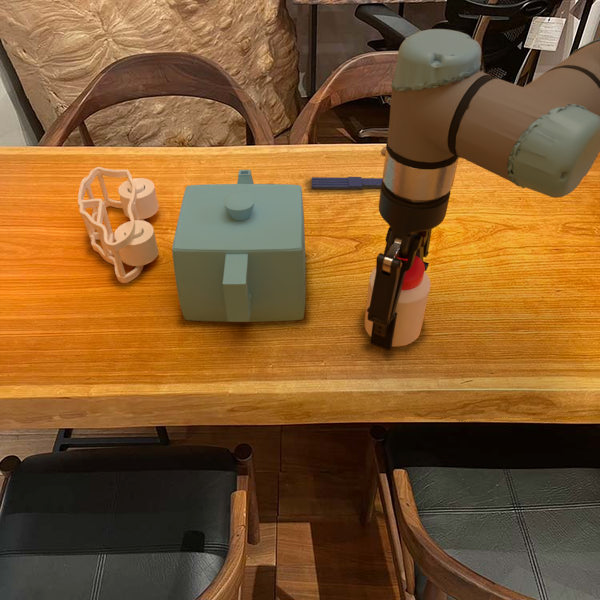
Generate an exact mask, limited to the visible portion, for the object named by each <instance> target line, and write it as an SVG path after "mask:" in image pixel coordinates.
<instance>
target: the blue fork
mask: <svg viewBox="0 0 600 600" xmlns="http://www.w3.org/2000/svg"><path fill="white" fill-rule="evenodd" d="M382 181H383V177H377V178H376V177H362V176H347V177H330V176H329V177H322V176H321V177H319V176H317V177H314V176H311V182H310V183H311V184H310V185H311V190H356V191H357V190H359V191H360V190H363V189H381V183H382Z"/></svg>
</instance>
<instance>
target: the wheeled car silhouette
mask: <svg viewBox="0 0 600 600" xmlns="http://www.w3.org/2000/svg"><path fill="white" fill-rule="evenodd" d="M104 177H108V178H115V179H121V178H122V179H123V178H127V180H125V181H123V182H122V183H121V184H120V185H119V187H118V189H117V192H118V195H119V200H117V199H116V200H115V199H112V198H110V197H109V192H108V190H107V186H106V183H105V180H104V179H105V178H104ZM95 178H97V180H98V183H99V186H100V191H101V194H102V197H103V199H102V198H95V197H94V194H93V193H94V192H93V189H92V187H91V184H92V183H94V181H95ZM85 194H87V197H88V199H85ZM77 206H78V208H79V210H78V211H79V214H80V217H81V218H82V220H83V222H84V225H85V229H86V231H87V235H88V237H89V239H90V244H91V247H92V249H93V251H95V252H97V253H98V254H99V255H100V256H101V258H102V259H103V260H104V261H105V262H107V263H108V264H111V265H113V266H114V273H115V276H116V279H117V281H118V282H119V283H120V284H128V283H130V282H131V281H133V280H134V279H136V278H137V277H138V276H139V275H140V274H141V273H142V271H143V269H144V266H145V265H147V264H149V263H152V262H153V261H154V260H155V259H157V257H158V255H159V252H160V251H159V247H158V243H157V238H156V234H155V229H154V226H153V224H151V223H150V222H149V221H146V219H148V218H151V217H153V216H154V215H156V214H157V212H159V208H160V205H159V201H158V196H157V192H156V186H155V183H154V181H152V180H150V179H149V178H145V177H135V178H133V177H132V174H131V172H130V170H129V169H113V168H105V167H102V166H96V167H94V168H92V169H91V170H90V171H89V173H88V175H87V176H85V177H83V178H82V179H81V182H80V185H79V190H78V194H77ZM109 207H113V208H115V209H121V210H122V211H123V214H124V215H125V216H126V218H129V220H130V221H126V222H124V223H122V224H120V225H119V226H118V227H117V228H116V229H115V231H114V232H113V229H112V225H111V221H110V219H109V215H108V211H107V208H109ZM90 208H91V210H92V214H91V215H90V214H89V212H87V209H90ZM103 223H104V224H103ZM97 241H100V244H101V246H100V245H99V244H98V243H97ZM123 263H124V264H125V265H127V266H131V267H134V269H132V270H131V271H129V272H127V273H126V270H125V268H124V264H123Z"/></svg>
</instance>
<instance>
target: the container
mask: <svg viewBox="0 0 600 600" xmlns="http://www.w3.org/2000/svg"><path fill="white" fill-rule="evenodd" d="M302 189H303V188H302V185H300V184H287V183H284V184H283V183H254V179H253V175H252V170H251V169H239V170H238V174H237V183H213V184H209V183H207V184H190V185H186V186H185V188H184V193H183V197H182V202H181V206H180V210H179V214H178V219H177V223H176V228H175V232H174V237H173V242H172V247H171V252H172V263H173V270H174V278H175V285H176V290H177V296H178V303H179V306H180V310H181V313H182V315H183V318H184V320H185V321H190V322H191V321H192V322H216V323H217V322H220V323H221V322H222V323H224V322H225V323H257V322H258V323H259V322H260V323H263V322H292V321H302V320H304V317H305V311H306V289H307V287H306V285H307V283H306V280H307V279H306V275H307V273H306V269H307V268H306V237H305V235H306V233H305V213H304V201H303V200H304V199H303V190H302Z"/></svg>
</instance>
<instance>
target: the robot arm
mask: <svg viewBox="0 0 600 600" xmlns="http://www.w3.org/2000/svg"><path fill="white" fill-rule="evenodd" d="M481 59H482V48H481V45H480V44H479V42H478V41H477V40H476V39H472V37H471V36H470V35H469V34H467V33H464V32H461V31H458V30H453V29H448V28H447V29H445V28H431V29H425V30H420V31H417V32H415V33H414V34H412V35H409V36H408V37H406V38H405V39H404V40H403V41H402V43H401V44H400V46H399V48H398V51H397V58H396V64H395V68H394V69H395V70H394V75H393V80H392V81H391V83H390V88H391V96H390V106H389V107H390V110H389V122H388V133H387V138H386V145H385V146H382V149H381V150H380V155H381V156H382V157H384V163H383V170H382V178H383V181H382V183H381V188H380V192H379V199H378V211H379V214H380V216H381V218H382V219H383V220H384V222H385V223H386V224H387V225H388V226H389V227H388V230H387V231H386V235H385V243H386V244H385V248H384V252H383V253H382V252H380V253H378V255H377V257H376V262H375V263H376V265H375V266H376V275H375V280H374V286H373V291H372V296H371V302H370V307H369V308H368V309H367V312H368V316H367V317H368V318H367V320H369V321H372V322H373V326H372V334H371V337H370V341H369V342H370V345H373V346H375V347H379V348H382V349H384V350H387V351H391V349H392V347H393V346H392V340H393V335H394V329H395V323H396V318H397V313H395V310H396V307H397V303H398V300H399V296H400V293H401V289H402V286H403V282H404V279H405V275H406V272H407V271H408V270H409V269H410V268H411V267H412V266H413V262H414V259H415V255H416V256H417V257H419V258H420V259H421V260H422V261H423V263H424V266H425V272H426V271H427V270H428V268H429V264H430V263H429V262H427V261H424V258H427V256H429V249H430V243H431V237H432V230H433V229H434V228H436V227H438V226H439V225H440V224H442V222H444V220H445V218H446V216H447V211H448V205H449V202H450V198H451V190H452V188H453V186H454V182H455V177H456V172H457V167H458V163H459V159H463V160H466V161H468V162H470V163H472V164H473V165H476V166H478V167H480V168H482V169H483V170H486V171H488V172H490V173H492V174H494V175H496V176H498V177H500V178H503V179H504V180H506V181H508V182H510V183H512V184H514V185H515V186H516V187H519V188H521V189H529V190H531V191H534V192H537V193H539V194H542V195H544V196H547V197H549V198H554V199H555V198H556V199H557V198H560V199H561V198H563V197H566V196H568V195H569V194H571V193H572V192H573V191H575V189H577V187H578V186H579V185H581V182H582V181H583V179H584V177H586V176H587V175H588V173H589V172H590V170H591V168H592V167H593V166H594V163H595V161H596V160H597V157H598V156H599V153H600V38H597V39H594V40H592V41H590V42H587V43H585V44H584V45H582V46H580V47H578V48H576V49H575V50H574V51H572V53H571V54H570V55H569V56H568V57H566V58H564V60H562V61H561V62H559V63H558V64H556V65H555V66H553V67H552V68H550V69H548V70H547V71H545V72H543V73H542V74H541V75H539V76H538V77H537V78H535V79H534V80H532V81H530V82H529V83H527V84H526V85H524V86H521V85H518V84H515V83H512V82H509V81H506V80H504V79H500V78H498V77H495V76H492V75H491V74H489V73H486V72H483V71H481V66H482V62H481ZM398 257H399V258H402V259H408V261H404V260H401V259H398Z"/></svg>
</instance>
